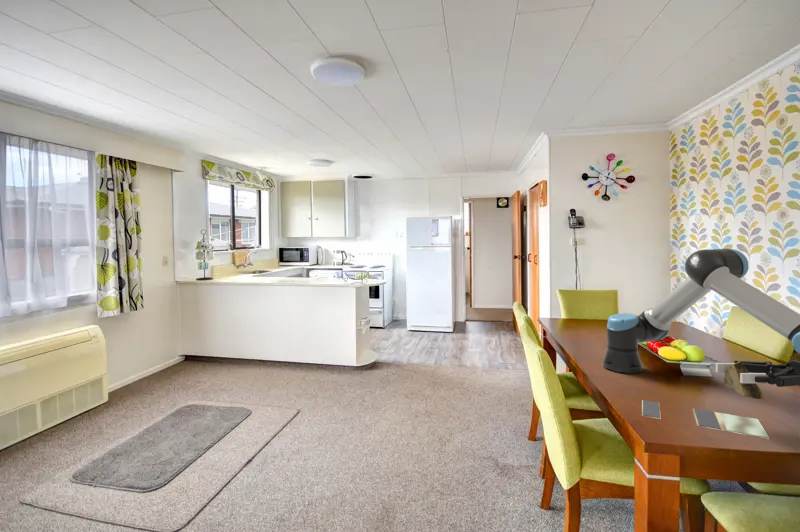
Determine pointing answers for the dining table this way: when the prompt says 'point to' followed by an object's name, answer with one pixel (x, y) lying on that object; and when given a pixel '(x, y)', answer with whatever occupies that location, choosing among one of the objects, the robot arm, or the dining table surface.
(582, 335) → the dining table surface
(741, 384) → the rock
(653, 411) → the trap near
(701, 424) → the trap middle
